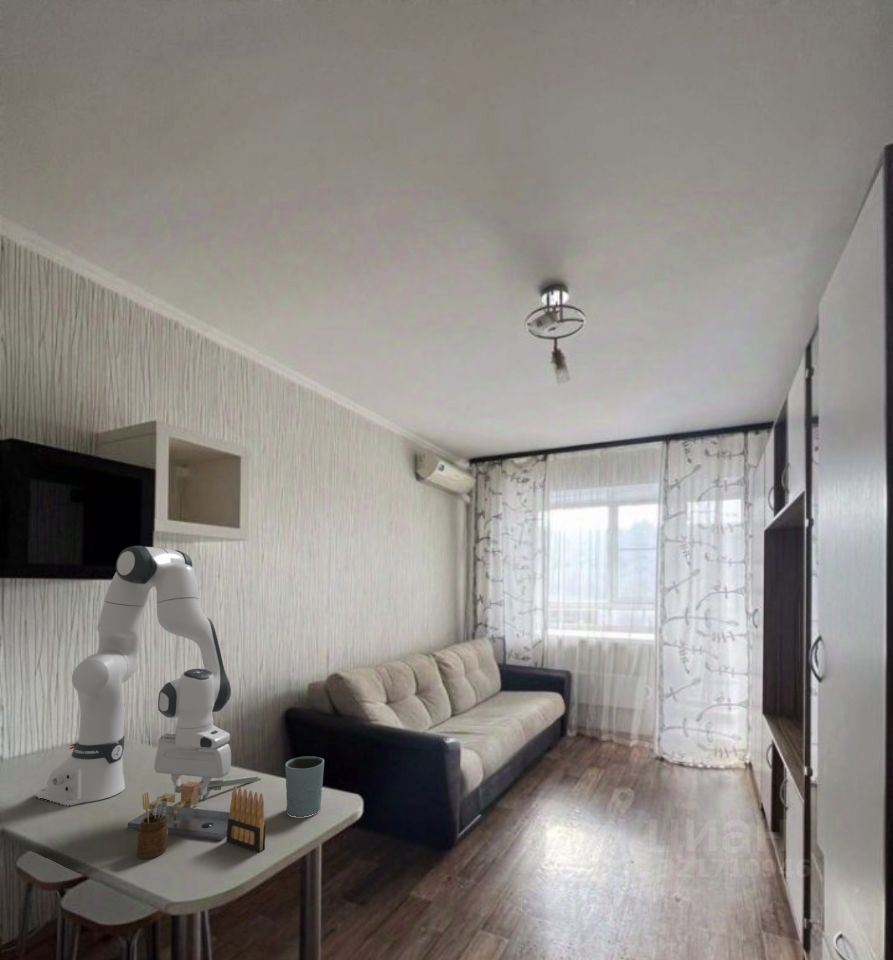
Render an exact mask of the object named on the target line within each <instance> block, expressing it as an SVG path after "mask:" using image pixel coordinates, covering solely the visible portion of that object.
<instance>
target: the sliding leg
mask: <svg viewBox="0 0 893 960" xmlns="http://www.w3.org/2000/svg"><path fill="white" fill-rule="evenodd" d="M200 782H201V781H199V782H198V781H188V782H186V783H184V785H182V789H181V793H180V801H178V802H175V805H173V810H174V820H177V814H178V809H180V808H182V807H183V808H192V807H194V806H198V804H199V803H200V802H199V795H198V794H197V792H198V787H200Z"/></svg>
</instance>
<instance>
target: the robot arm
mask: <svg viewBox="0 0 893 960" xmlns="http://www.w3.org/2000/svg"><path fill="white" fill-rule="evenodd" d="M115 570H116V572H115V573H114V575H113V578H111V581H110V584H109V586H108V588H107V591H106V594H105V597H104V600H103V605H102V607H101V608H102V609H101V612H100V616H99V620H98V623H97V627H96V628H97V629H96V630H97V631H98V648H97V652H96V653H94V654H92V655H89V656H87V657H86V658H84V659H83V660H82V661H81V662H79V663H78V664H77V665H76V667H75V668H74V670H73V671H72V674H71V683H72V685H73V688H74V689H75V690H76V691H77V696H78V697H77V698H78V703H79V711H80V717H79V729H78V740H77V742H75V743H73V744H70V745H69V747H70V748H68V749H69V750H72V749H73V750H72V751H71V756H69V757H68V758H67V759H66V760H64V761H63V762H62V763H60V764H58V766H56V767H55V768H54V769H53V770H52V771H51V773H50V774H49V776H48V779H47V786H46V787H43V788H42V789H40V790H39V791H37V792H36V794H35V797H36V796H38V797H42V798H45V799H47V800H50V801H49V802H51V801H53V802H52V803H54V802H57V803H56V804H58V803H60V804H59V805H62V804H63V806H66V805H67V807H68V806H69V805H70V806H74V805H79V804H83V803H90V802H96V801H100V800H103V799H108V798H110V797H113V796H115V795H118V794H120V793H122V792H123V791H124V790H125V789H126V783H125V776H124V761H123V758H124V756H123V753H124V750H125V742H126V741H125V736H124V729H125V719H126V708H125V705H124V704H123V700H122V692H121V688H122V687H121V686H122V684H123V683H125V682H126V681H128V680H129V679H131V677H132V676H133V675H134V673H135V672H136V670H137V669H138V665H139V657H138V647H139V635H140V629H141V624H142V621H143V616H144V613H145V610H146V605H147V601H148V598H149V594H150V591H151V590H152V589H153V588H154V587H155V589H156V615H157V620H158V624H159V625H160V626H161V628H162V629H164V630H165V631H166V632H168V633H170V634H172V635H175V636H178V637H183V638H185V639H187V640H190V641H192V642H193V643H195V644H197V646H198V648H199V650H200V654H201V658H202V659H201V660H202V663H203V668H192V669H188V670H186V671H184V672H183V673H182V674H181V675H180V676H181V677H179V678H177V679H174V680H172V681H171V680H170V681H168V682H166V683H165V684H164V686H163V687H162V688H161V689H160V691H159V692H158V693H159V694H158V697H157V698H158V700H157V701H158V702H157V708H158V711H159V713H160V714H162V715H163V716H165V718H169V719H175V718H177V721H176V725H175V733H174V734H171V733H164V734H163V735H161V736H160V737H159V739H158V743H157V750H156V754H155V759H154V771H155V773H156V774H157V773H158V774H164V775H165V774H167V775H168V774H169V775H171V777H170V779H171V781H172V783H173V785H174V794H176V793H177V794H178V793H179V794H181V789H182V785H184V784H185V783H182V780H181V776H186V777H187V776H189V777H200V778H201V780H202V781H204V782H203V784H202V786H201V787H198V792H197V794H198V795H202V796H203V795H204V794H206V792H207V786H208V784H209V782H210V781H211V780H213V779H222V778H224V777H226V776H227V775H228V774H229V773H230V771H231V766H232V751H231V746H230V744H229V743H228V742H229V741H230V740H231V734H230V733H229V732H227V731H226V730H223V729H221V728H219V727H217V726H216V725H214V718H213V713H217V712H220V711H221V710H222V709H224V707H225V706H226V705H227V704H228V702H229V700H230V699H231V696H232V689H231V684H230V680H229V678H228V676H227V673H226V671H225V665H224V662H223V658H222V657H223V656H222V653H221V650H220V649H221V648H220V644H219V640H218V636H217V632H216V628H215V625H214V623H213V621H212V620H211V619H210V618H208V617H207V616H206V615H205V613H204V611H203V609H202V607H201V601H200V592H199V591H200V590H199V589H200V588H199V583H198V578H197V575H196V571H195V569H194V567H193V561H192V558H191V557H190V556H189V554H187V553H185V552H182V551H181V550H173V549H172V548H171V549H170V548H166V547H161V546H159V547H158V546H157V547H156V546H155V547H153V546H143V545H134V546H128V547H126V548H124V549H123V550H121V552H120V553H119V555H118V557H117V559H116V563H115ZM47 800H46V801H47ZM70 806H69V807H70Z"/></svg>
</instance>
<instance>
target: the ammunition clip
mask: <svg viewBox="0 0 893 960" xmlns="http://www.w3.org/2000/svg"><path fill="white" fill-rule="evenodd" d="M264 804H265V800H264V795H263V793H262V792H260V795H258V792H257V791H255V792H254V794H253V791H252V790H251V789H250V790H249V792H248V791H247V788H245V789H244V790H243V791H242V787H239V788H238V790H237V785H233V789H232V792H231V799H230V806H229V809H230V819H229V818H228V826H227V837H226V841H225V842H226V843H228V844H230V845H234V846H236V847H239V848H243V849H245V850H248V849H249V851H251V850H252V851H251V852H254V851H255V852H254V853H257V852H258V853H257V854H259V853H261V852H262V851H264V850H265V849H266V824H265V807H264V806H265V805H264Z"/></svg>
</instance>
